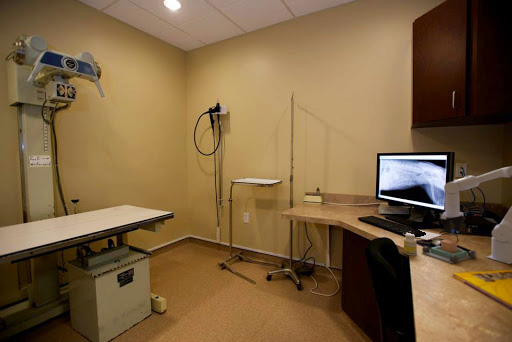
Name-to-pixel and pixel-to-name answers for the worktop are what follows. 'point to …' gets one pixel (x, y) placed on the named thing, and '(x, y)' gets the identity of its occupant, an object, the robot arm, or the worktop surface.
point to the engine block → (449, 246)
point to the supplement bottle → (410, 244)
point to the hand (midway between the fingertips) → (452, 231)
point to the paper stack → (429, 235)
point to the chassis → (448, 254)
